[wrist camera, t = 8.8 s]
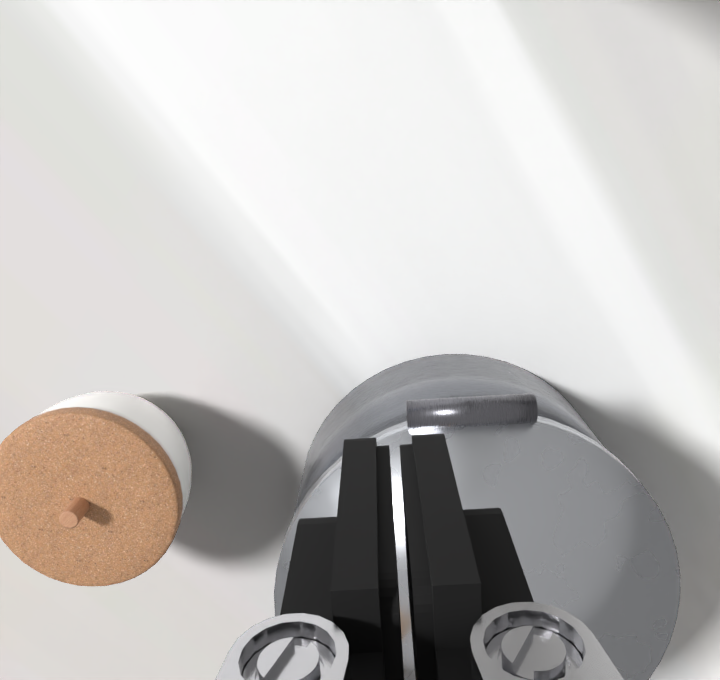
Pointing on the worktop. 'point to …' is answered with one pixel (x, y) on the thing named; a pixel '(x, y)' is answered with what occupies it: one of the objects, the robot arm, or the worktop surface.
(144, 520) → the lidded jar
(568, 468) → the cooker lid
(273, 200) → the worktop surface
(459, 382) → the cooker pot
